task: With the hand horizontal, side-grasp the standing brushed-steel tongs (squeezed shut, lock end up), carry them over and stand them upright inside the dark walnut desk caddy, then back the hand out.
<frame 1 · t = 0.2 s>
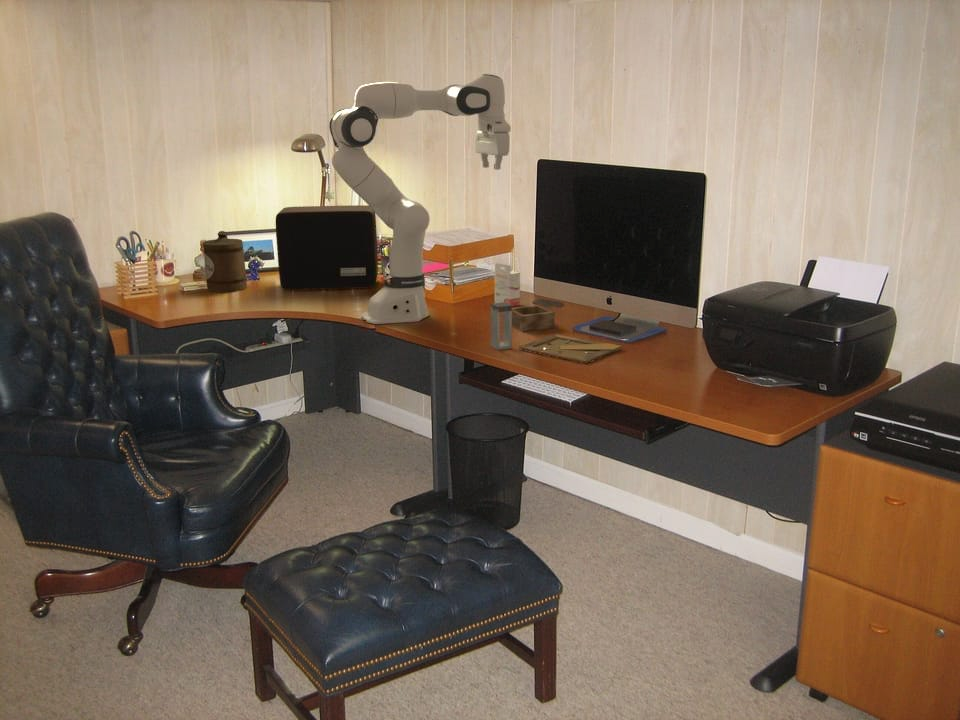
hand: (491, 168, 315), 47 cm above the table, tool pointing down, fingers open, 8 cm apart
ink cartridge box: (507, 305, 332), on the table
picture frame: (569, 352, 276), on the table
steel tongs: (501, 347, 279), on the table
radio: (330, 286, 365), on the table
wooden container: (227, 288, 363), on the table
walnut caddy: (530, 325, 303), on the table
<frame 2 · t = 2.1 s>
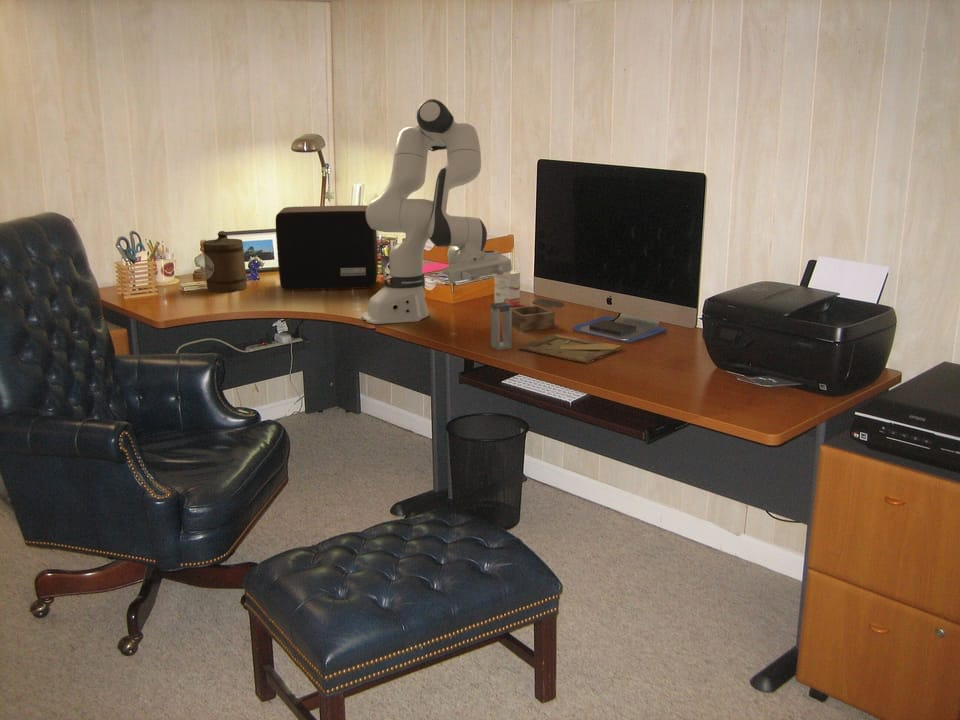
hand: (486, 274, 285), 19 cm above the table, tool horizontal, fingers open, 8 cm apart
nothing on the table moved.
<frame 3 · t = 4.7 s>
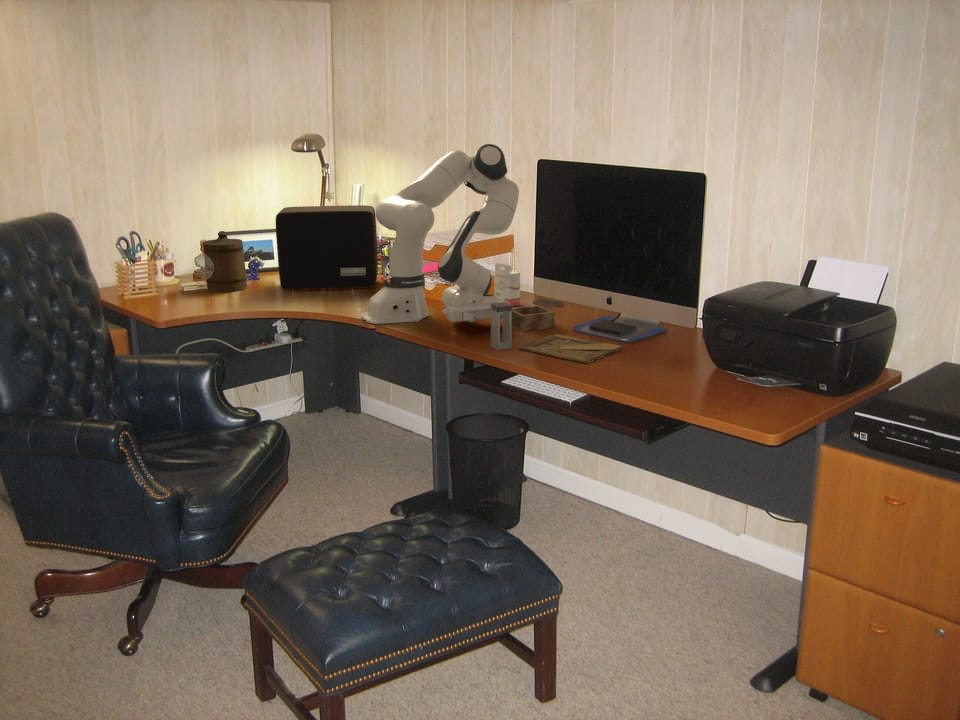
hand: (488, 316, 286), 7 cm above the table, tool horizontal, fingers open, 8 cm apart
nothing on the table moved.
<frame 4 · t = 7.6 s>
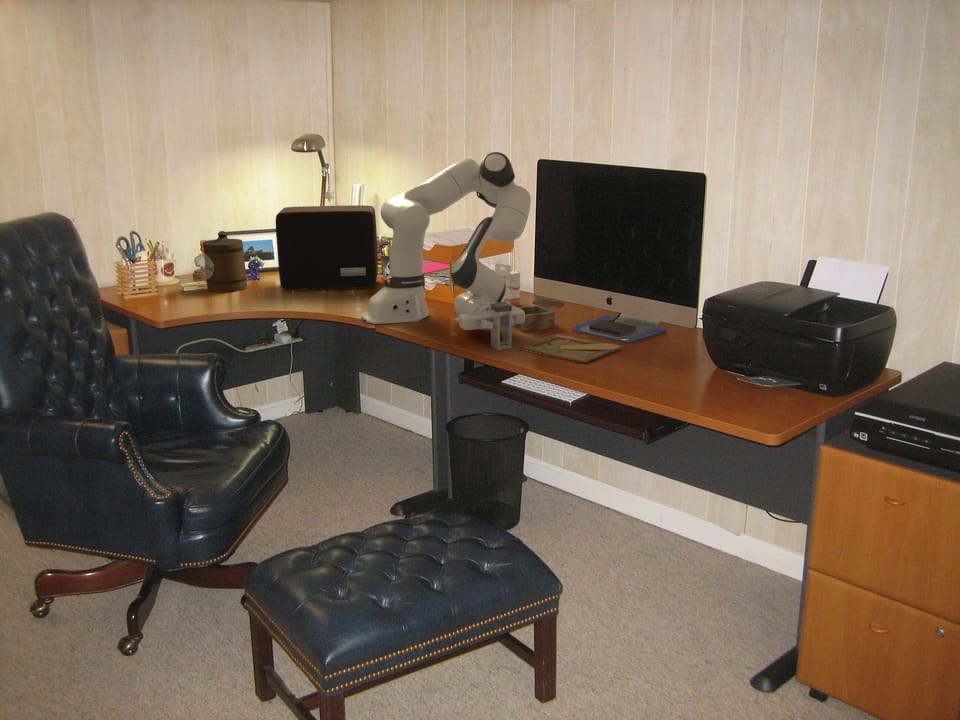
hand: (502, 324, 276), 7 cm above the table, tool horizontal, fingers closed on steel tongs, 5 cm apart
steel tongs: (501, 347, 279), on the table, touching gripper
everything else where it was.
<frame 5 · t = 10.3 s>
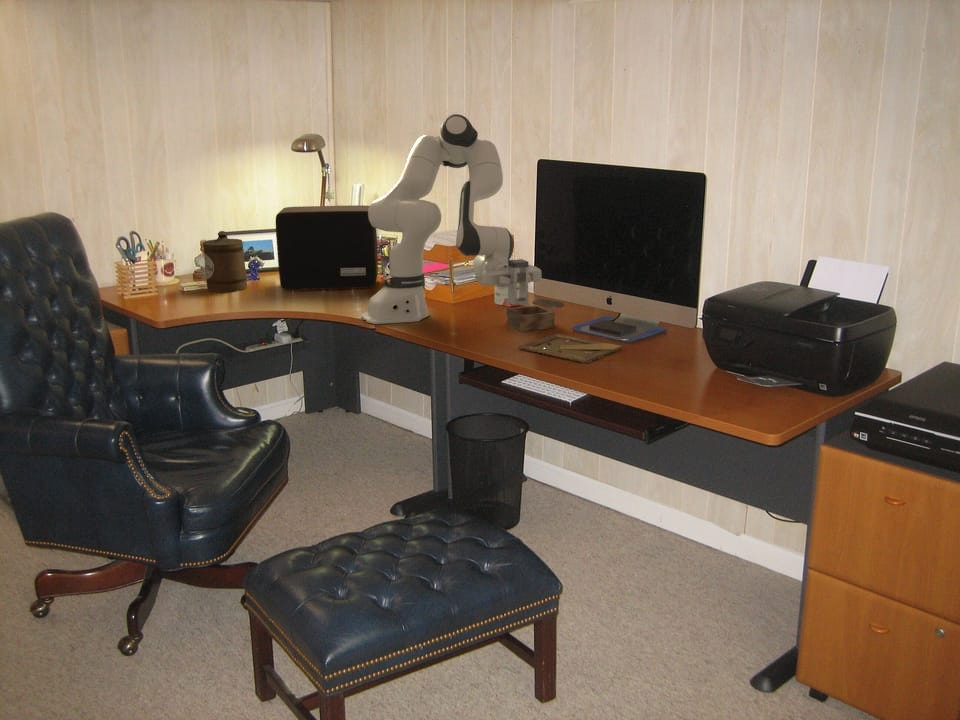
hand: (519, 280, 288), 17 cm above the table, tool horizontal, fingers closed on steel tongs, 5 cm apart
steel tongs: (517, 302, 290), point 10 cm above the table, touching gripper
everything else where it was.
when the fingers open (10 cm above the table, at t = 13.2 s): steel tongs drops 1 cm, resting on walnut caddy.
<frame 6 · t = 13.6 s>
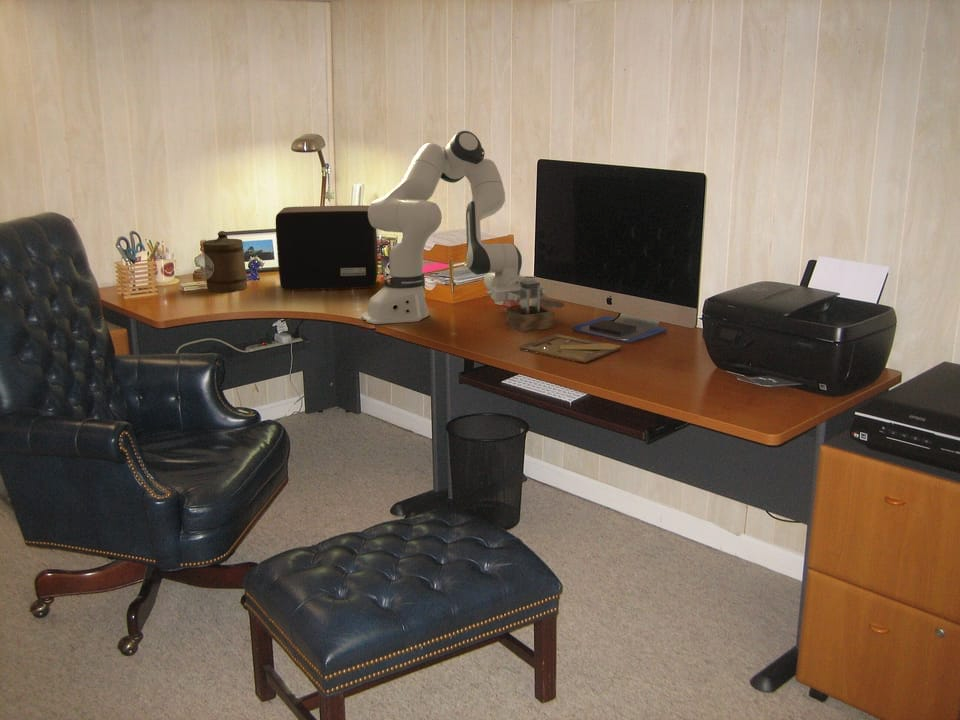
hand: (531, 296, 300), 10 cm above the table, tool horizontal, fingers open, 8 cm apart
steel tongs: (530, 322, 303), point 1 cm above the table, touching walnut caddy
everything else where it was.
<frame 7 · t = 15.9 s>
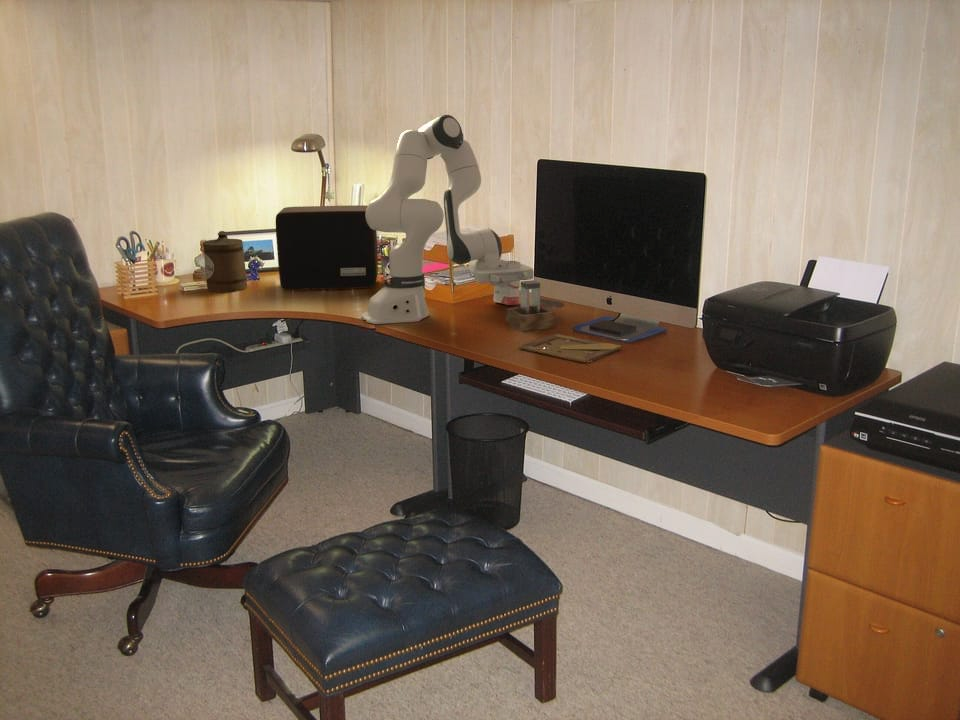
hand: (513, 278, 309), 13 cm above the table, tool horizontal, fingers open, 8 cm apart
ink cartridge box: (505, 303, 333), on the table
everything else where it was.
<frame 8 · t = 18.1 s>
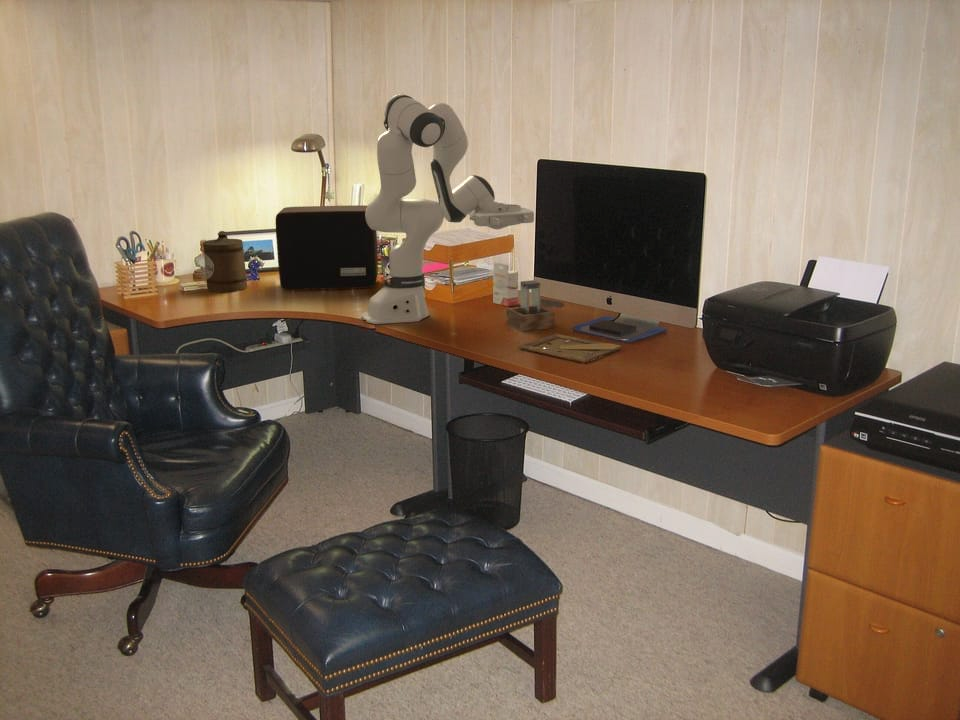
hand: (513, 221, 305), 32 cm above the table, tool horizontal, fingers open, 8 cm apart
at the end: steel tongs inside the target area on the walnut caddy (0.0 cm from its centre), point 1.2 cm above the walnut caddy's base; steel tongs tilted 0°; the gripper is holding nothing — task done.
